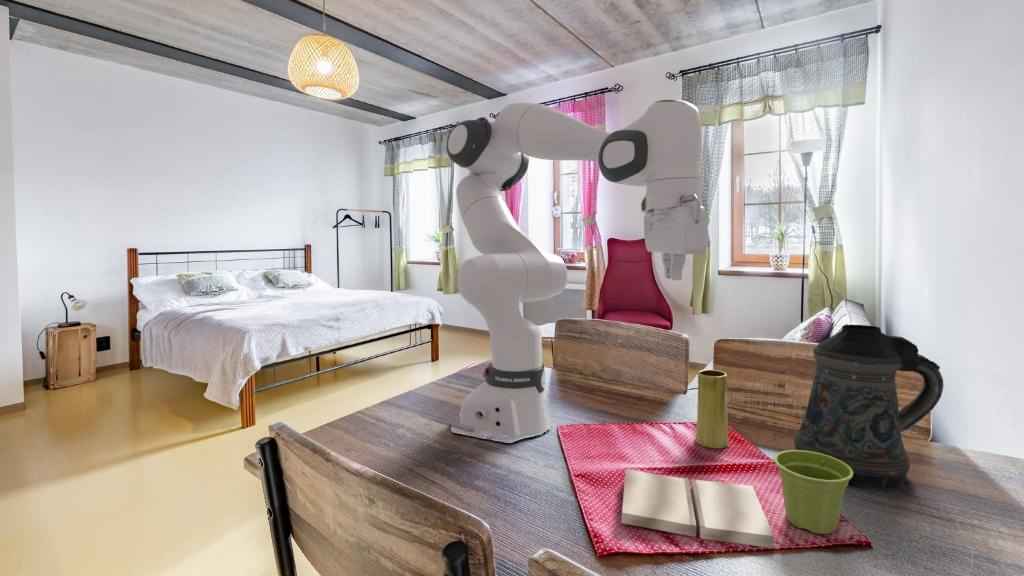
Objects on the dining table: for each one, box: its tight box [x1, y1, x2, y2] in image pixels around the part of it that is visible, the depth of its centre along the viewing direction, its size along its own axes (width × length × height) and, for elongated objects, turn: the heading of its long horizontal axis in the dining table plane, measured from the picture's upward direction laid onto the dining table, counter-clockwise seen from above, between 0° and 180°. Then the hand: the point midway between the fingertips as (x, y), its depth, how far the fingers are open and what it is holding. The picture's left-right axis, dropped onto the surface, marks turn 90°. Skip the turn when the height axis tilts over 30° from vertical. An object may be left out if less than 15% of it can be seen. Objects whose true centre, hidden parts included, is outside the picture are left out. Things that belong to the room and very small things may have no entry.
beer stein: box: [793, 324, 944, 490], centre depth 81 cm, size 16×19×25 cm
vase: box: [694, 369, 730, 450], centre depth 93 cm, size 6×6×14 cm
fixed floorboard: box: [691, 478, 775, 549], centre depth 69 cm, size 9×13×2 cm
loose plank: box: [620, 469, 698, 538], centre depth 72 cm, size 10×13×2 cm
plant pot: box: [773, 449, 853, 535], centre depth 66 cm, size 9×9×9 cm
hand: (673, 279), depth 81 cm, fingers closed
